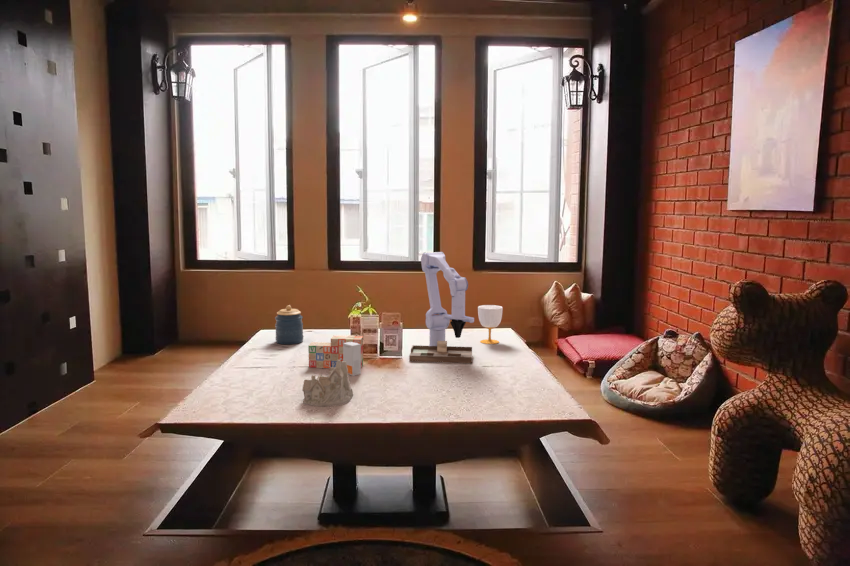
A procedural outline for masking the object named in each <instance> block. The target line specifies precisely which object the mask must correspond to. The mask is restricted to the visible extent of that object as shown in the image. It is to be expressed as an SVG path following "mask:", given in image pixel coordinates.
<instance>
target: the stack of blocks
mask: <svg viewBox="0 0 850 566" xmlns="http://www.w3.org/2000/svg"><path fill="white" fill-rule="evenodd" d="M347 342H354V343H358V344H361V369H362V368H363V366H364V336H363V335H362V336H361V335H360V336H359V335H337V334H336V335H332V336H331V338H330V342H325V341H324V342H322V341H321V342H319V341H317V342H316V341H312V342H310V344H309V345H308V347H307V348H308V349H307V350H308V351H307V352H308V368H317V369H321V368H322V369H323V368H324V369H330V367H336V362H337V360H340V361H341V363H342V361H343V343H347Z"/></svg>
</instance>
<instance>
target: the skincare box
mask: <svg viewBox="0 0 850 566" xmlns="http://www.w3.org/2000/svg"><path fill="white" fill-rule="evenodd" d="M343 361H346V364H347V368H348V376H349V375H350V376H353V377H354V376H358V375H361V374H362V368H361V344H358V343H354V342H347V343H343Z"/></svg>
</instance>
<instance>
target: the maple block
mask: <svg viewBox="0 0 850 566" xmlns="http://www.w3.org/2000/svg"><path fill="white" fill-rule="evenodd" d="M447 346H448V341H447V340H445V341H438V342H437V352H447Z"/></svg>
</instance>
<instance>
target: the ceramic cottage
mask: <svg viewBox="0 0 850 566" xmlns="http://www.w3.org/2000/svg"><path fill="white" fill-rule="evenodd" d="M302 392H303V397H304V398H303V399H302V404H303V405H309V406H315V407H334V406H342V405H345V404H347V403H350V401H351V399H352V397H353V396H354V391H353V388H352V387H351V380H350V378H349V374H348V368H347V364H346V361H342V363H341V361H340V360H337V362H336V367H330V368H329V376H324V375H323V374H322V373H321V372H320V373H319V374H318V376H317V378H316V375H315V374H314V375H311V378H310V379H304V381H303V384H302Z"/></svg>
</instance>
